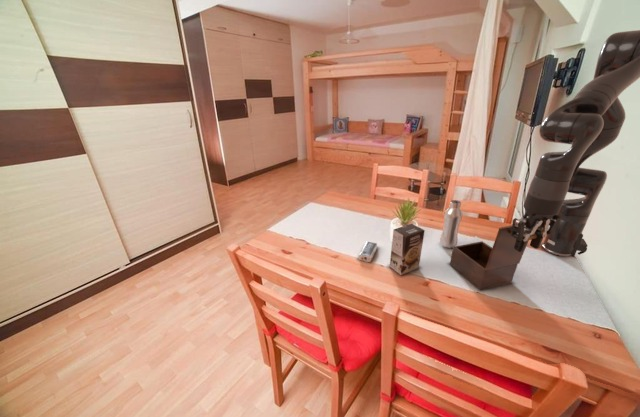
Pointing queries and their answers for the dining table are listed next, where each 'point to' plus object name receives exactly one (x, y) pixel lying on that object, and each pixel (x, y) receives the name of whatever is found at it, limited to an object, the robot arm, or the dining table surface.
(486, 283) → the chest
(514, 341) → the dining table surface
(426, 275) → the dining table surface
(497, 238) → the lid
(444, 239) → the silver metal bottle
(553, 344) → the dining table surface
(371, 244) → the multiport hub
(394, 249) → the coffee box
